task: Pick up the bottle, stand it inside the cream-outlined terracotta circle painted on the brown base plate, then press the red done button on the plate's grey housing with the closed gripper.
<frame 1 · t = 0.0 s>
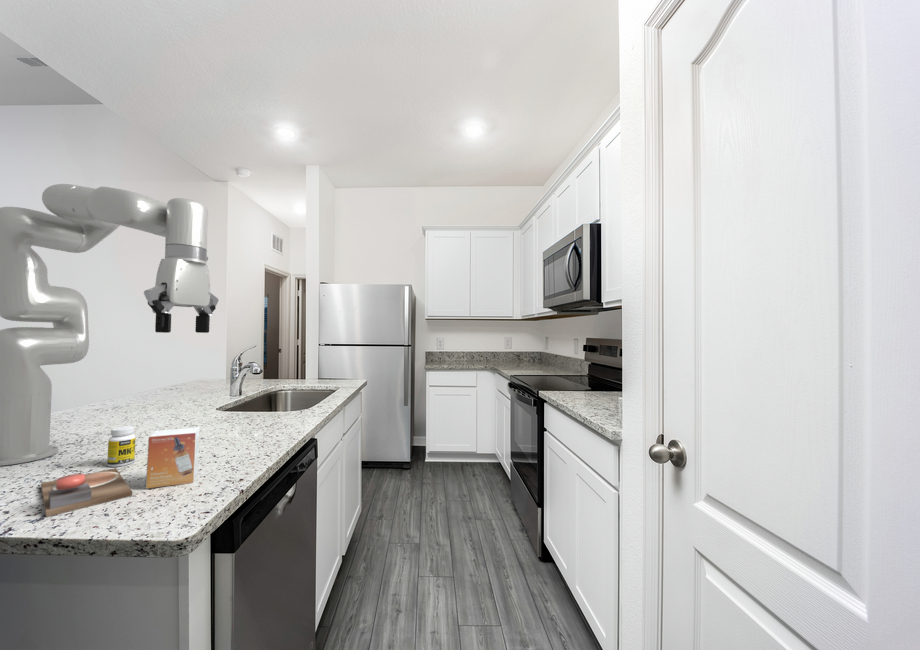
hand: (183, 332, 83), 31 cm above the countertop, tool pointing down, fingers open, 9 cm apart
supplement bottle: (121, 464, 87), on the countertop
done button: (70, 481, 67), point 4 cm above the countertop, slide at 0.0 cm
brown base plate: (85, 491, 72), on the countertop
small box: (173, 482, 78), on the countertop
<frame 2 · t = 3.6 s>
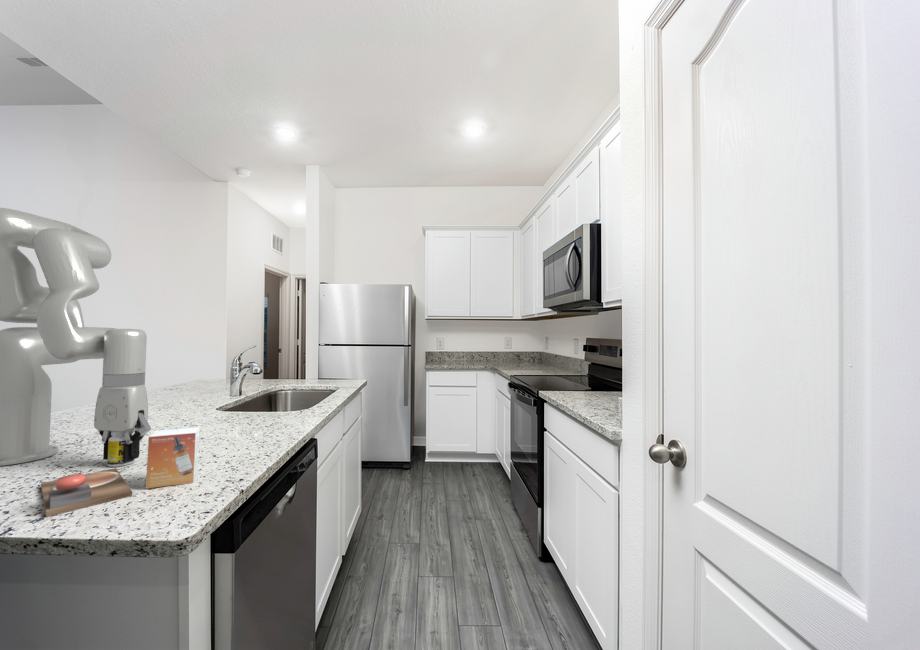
hand: (121, 457, 87), 1 cm above the countertop, tool pointing down, fingers closed on supplement bottle, 4 cm apart
supplement bottle: (121, 464, 87), on the countertop, touching gripper
everything else where it was.
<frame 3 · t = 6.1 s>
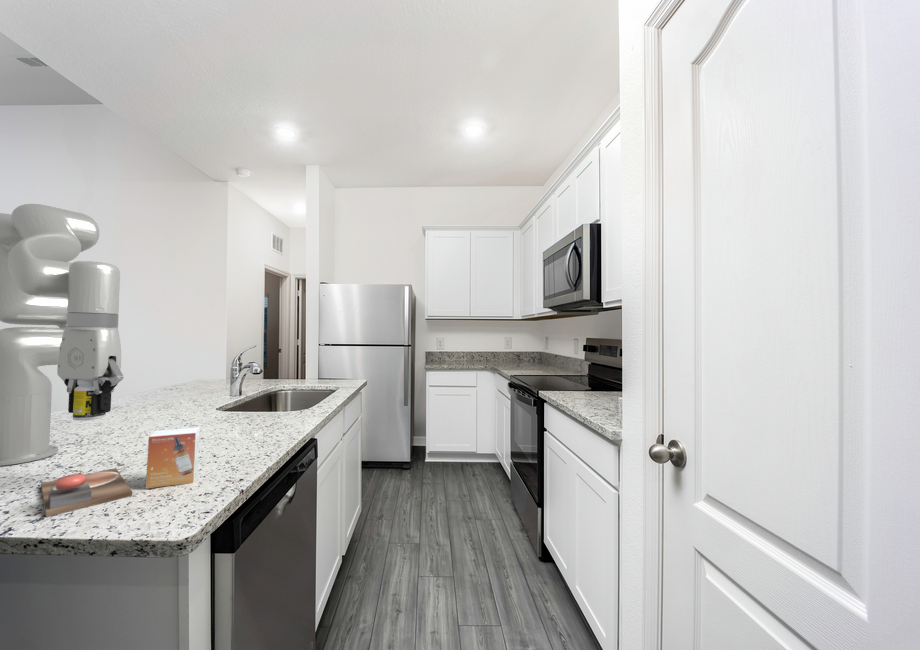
hand: (89, 411, 75), 15 cm above the countertop, tool pointing down, fingers closed on supplement bottle, 4 cm apart
supplement bottle: (89, 419, 75), point 13 cm above the countertop, touching gripper
everything else where it was.
when the fingers open (4 cm above the countertop, at t = 8.9 s): supplement bottle drops 1 cm, resting on brown base plate.
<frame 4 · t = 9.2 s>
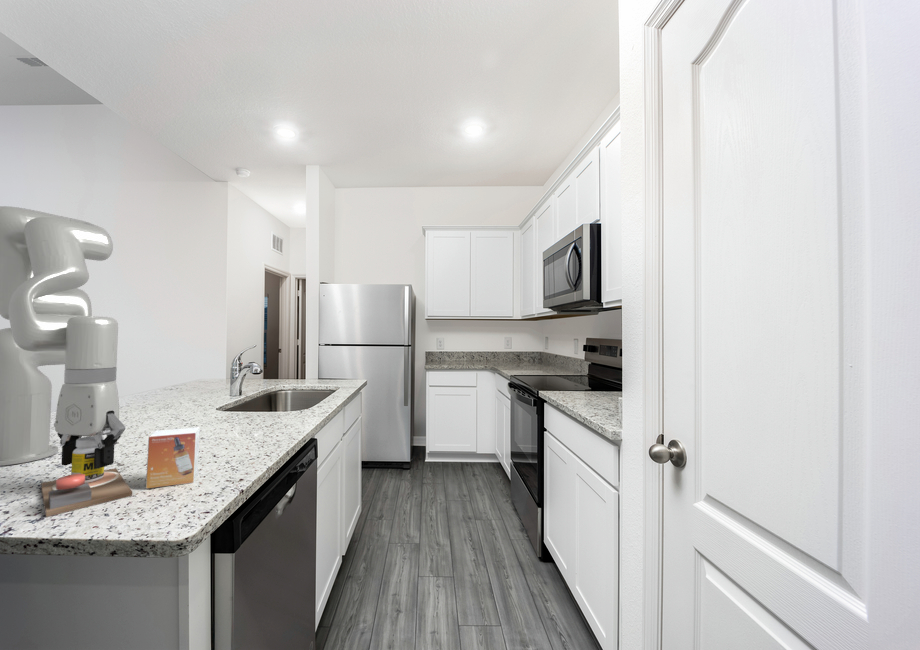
hand: (87, 464, 75), 4 cm above the countertop, tool pointing down, fingers open, 7 cm apart
supplement bottle: (87, 480, 75), point 1 cm above the countertop, touching brown base plate
everything else where it was.
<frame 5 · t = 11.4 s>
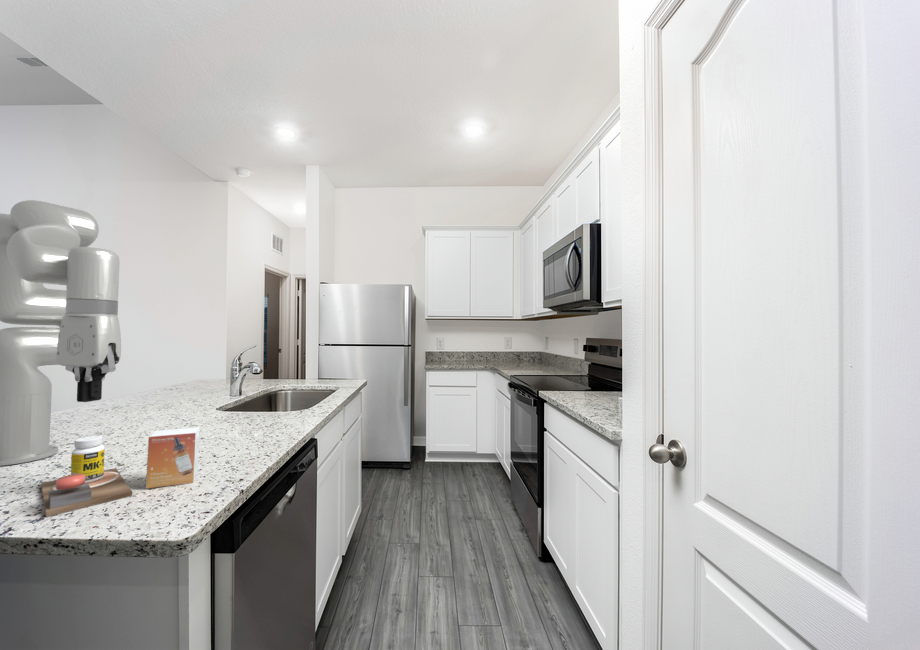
hand: (89, 400, 75), 17 cm above the countertop, tool pointing down, fingers closed
nothing on the countertop moved.
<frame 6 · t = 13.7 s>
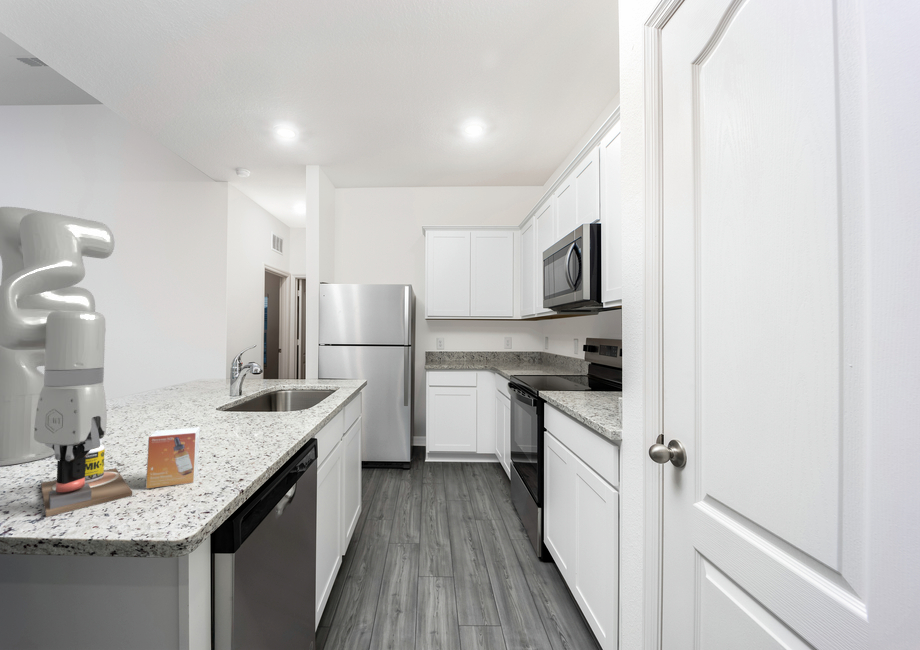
hand: (71, 480, 67), 4 cm above the countertop, tool pointing down, fingers closed
done button: (70, 484, 67), point 4 cm above the countertop, slide at 0.5 cm, touching gripper
everything else where it was.
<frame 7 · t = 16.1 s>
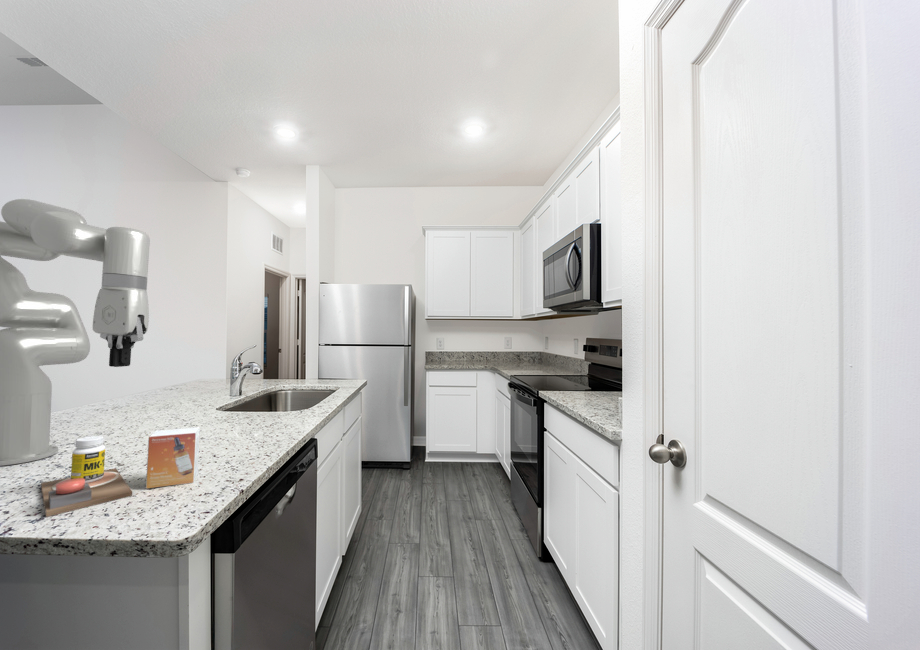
hand: (119, 366, 83), 23 cm above the countertop, tool pointing down, fingers closed
done button: (70, 485, 67), point 3 cm above the countertop, slide at 0.8 cm
everything else where it was.
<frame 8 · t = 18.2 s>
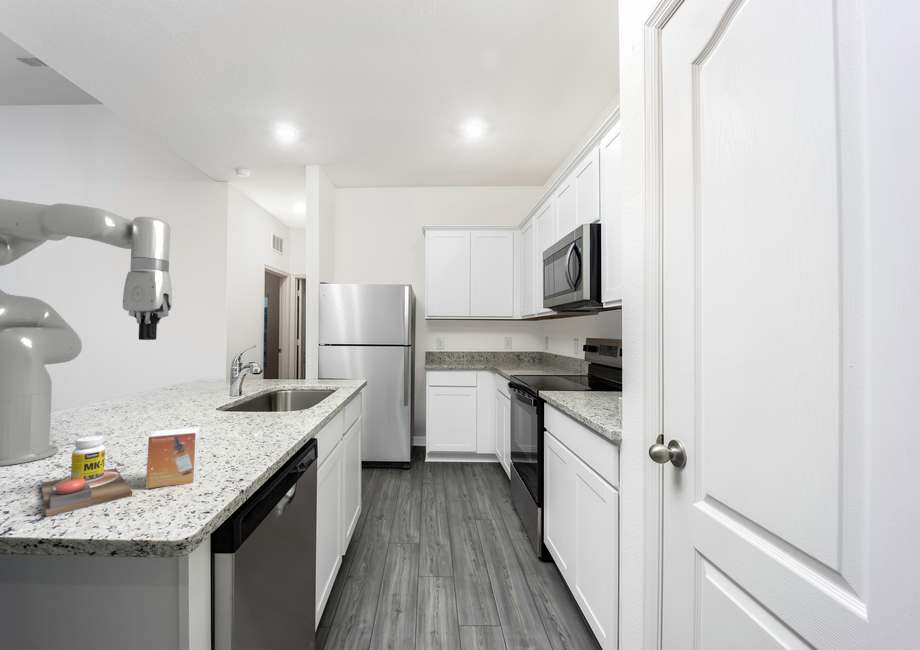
hand: (147, 339, 94), 29 cm above the countertop, tool pointing down, fingers closed
nothing on the countertop moved.
at the end: supplement bottle 0.1 cm from the target spot, point 0.9 cm above the countertop; supplement bottle tilted 0°; done button slide at 0.8 cm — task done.
